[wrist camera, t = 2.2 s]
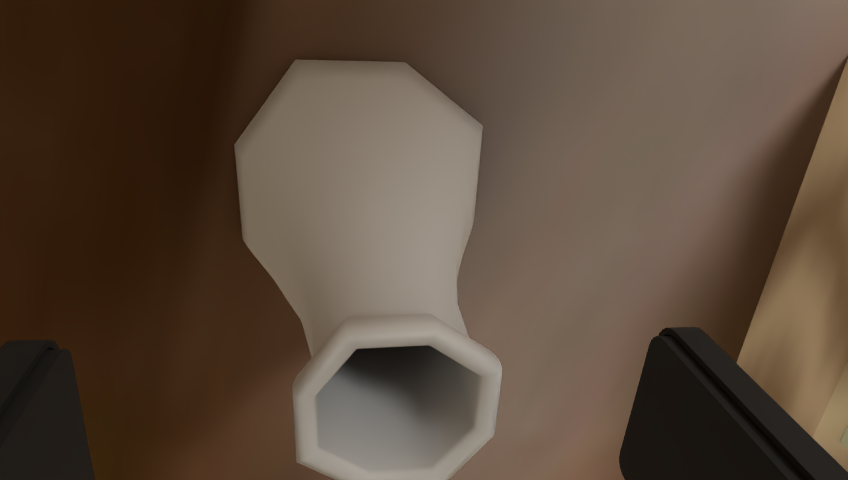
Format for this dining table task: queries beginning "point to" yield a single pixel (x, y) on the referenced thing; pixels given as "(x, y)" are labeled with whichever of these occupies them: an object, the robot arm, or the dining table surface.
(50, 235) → the dining table surface
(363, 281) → the flask
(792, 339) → the birch base block
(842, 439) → the sage top block
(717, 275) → the dining table surface
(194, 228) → the dining table surface
